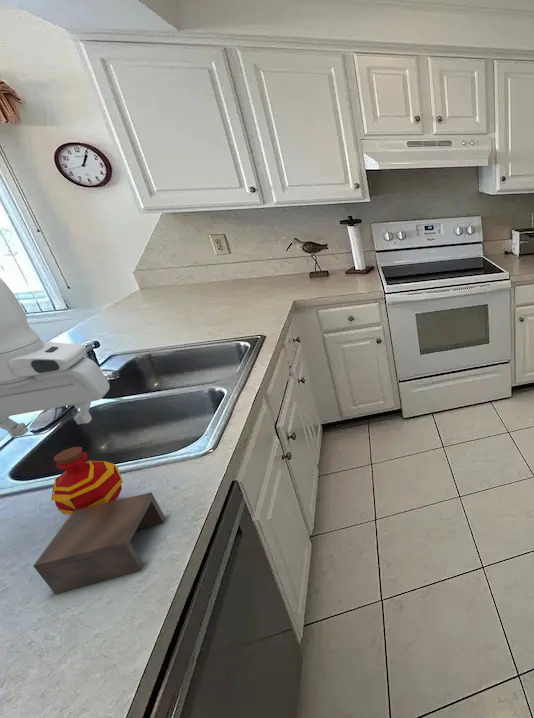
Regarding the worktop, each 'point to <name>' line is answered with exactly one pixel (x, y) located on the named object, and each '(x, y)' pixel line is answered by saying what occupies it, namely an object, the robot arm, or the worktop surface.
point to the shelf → (97, 543)
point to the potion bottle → (84, 481)
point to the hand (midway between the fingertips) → (53, 428)
